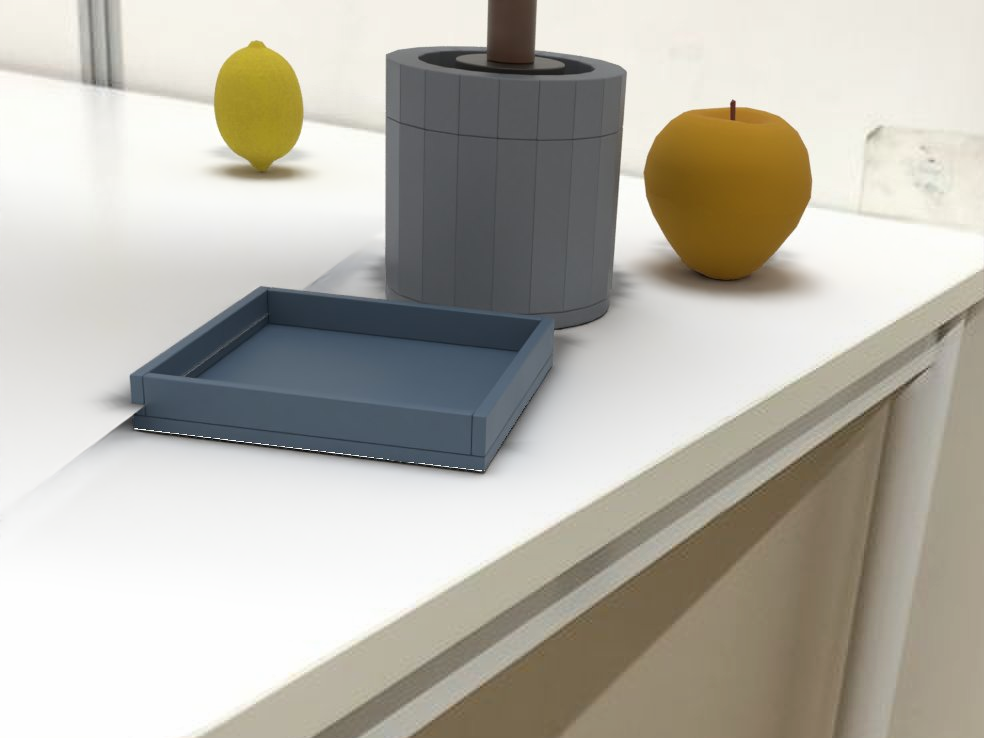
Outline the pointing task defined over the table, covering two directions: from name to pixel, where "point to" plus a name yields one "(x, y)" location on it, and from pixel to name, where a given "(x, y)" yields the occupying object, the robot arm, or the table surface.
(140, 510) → the table surface
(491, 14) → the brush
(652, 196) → the apple
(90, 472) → the table surface
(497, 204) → the jar
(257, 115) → the lemon
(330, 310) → the tray
